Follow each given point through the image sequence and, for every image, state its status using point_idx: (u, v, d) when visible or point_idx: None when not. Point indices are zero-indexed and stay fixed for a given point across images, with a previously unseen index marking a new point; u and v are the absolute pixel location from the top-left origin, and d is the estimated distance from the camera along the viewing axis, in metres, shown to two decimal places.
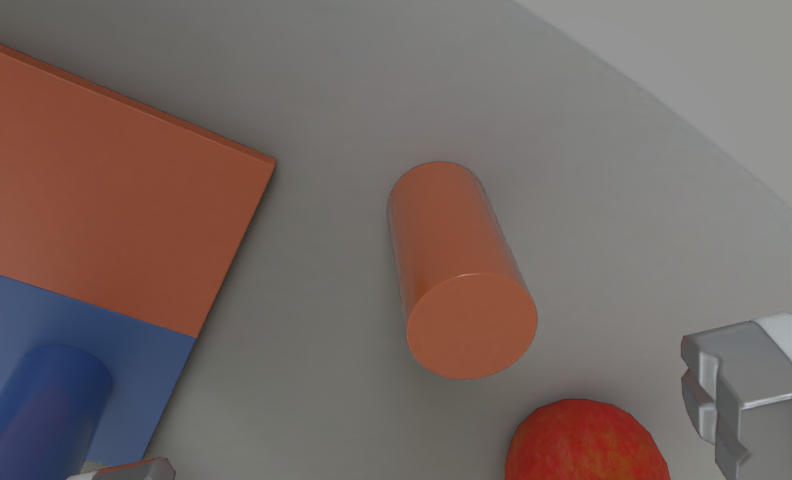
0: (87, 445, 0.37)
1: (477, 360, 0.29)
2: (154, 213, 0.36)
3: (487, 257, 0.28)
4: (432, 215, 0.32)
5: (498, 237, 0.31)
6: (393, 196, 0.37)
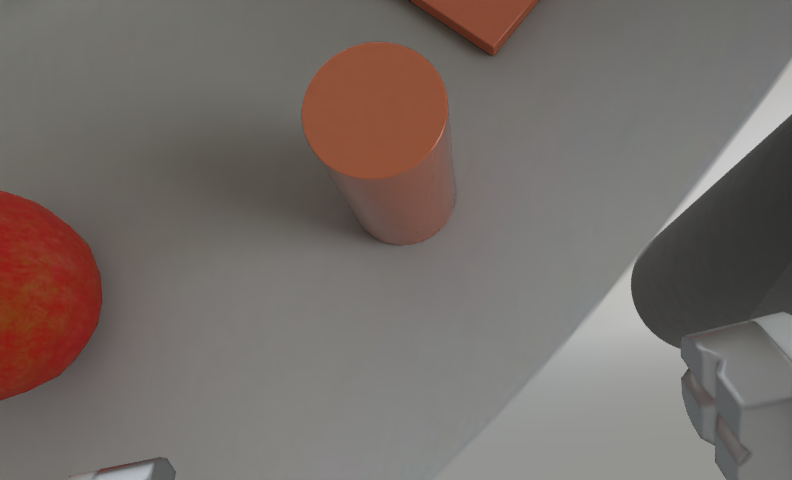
0: None
1: (328, 109, 0.26)
2: None
3: (441, 150, 0.26)
4: None
5: (426, 192, 0.29)
6: None
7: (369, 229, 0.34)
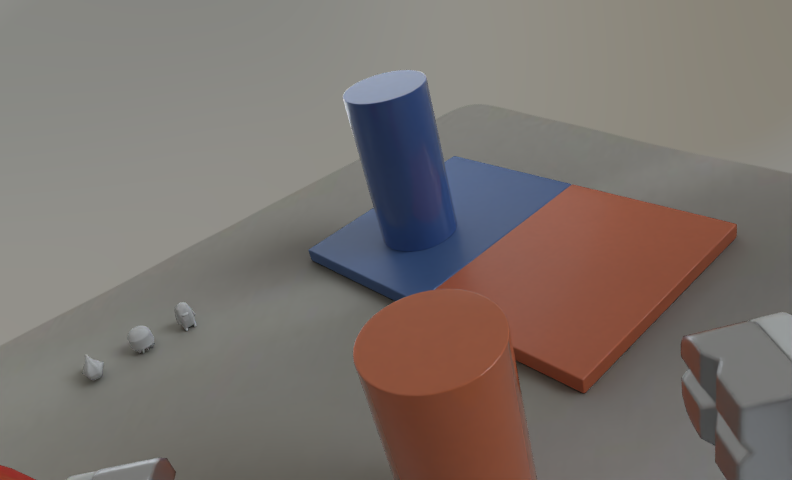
0: (386, 189, 0.45)
1: (382, 339, 0.24)
2: (555, 297, 0.40)
3: (505, 386, 0.23)
4: None
5: (493, 459, 0.24)
6: None
7: None
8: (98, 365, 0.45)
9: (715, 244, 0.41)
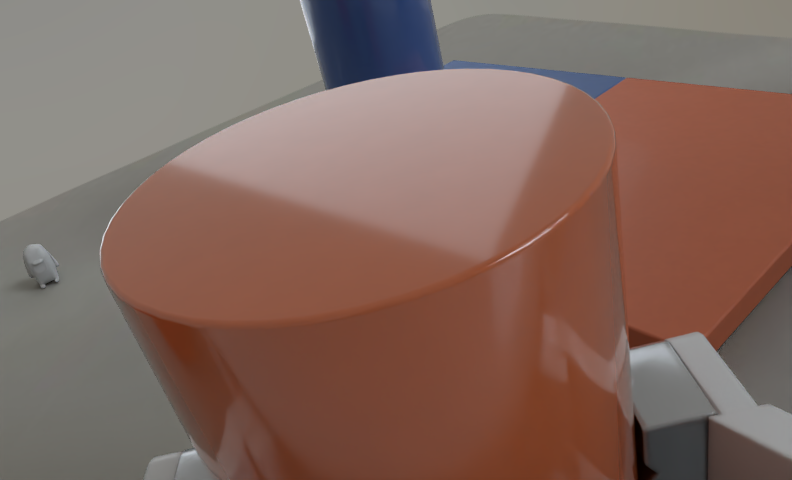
0: (345, 65, 0.29)
1: (209, 179, 0.08)
2: None
3: (602, 312, 0.06)
4: None
5: None
6: None
7: None
8: None
9: None
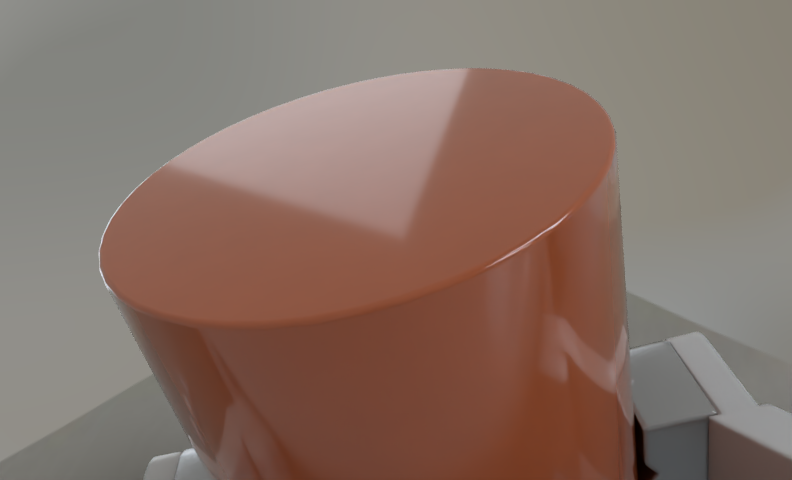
0: None
1: (208, 179, 0.08)
2: None
3: (603, 312, 0.06)
4: None
5: None
6: None
7: None
8: None
9: None
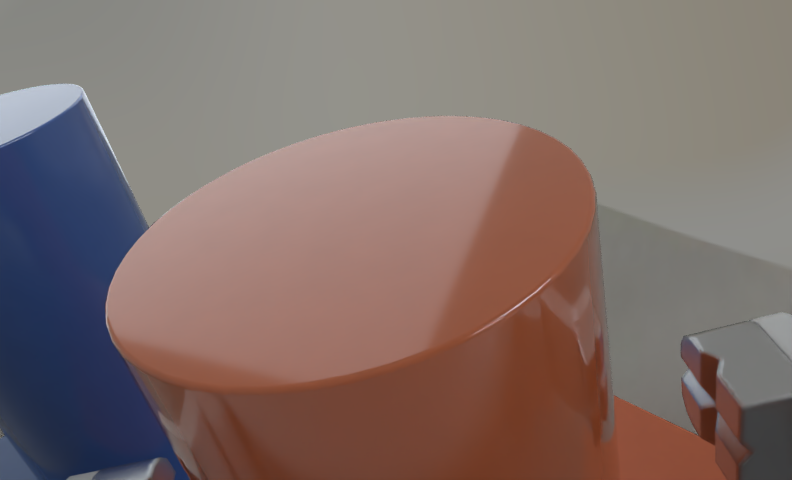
0: None
1: (209, 230, 0.08)
2: None
3: (584, 365, 0.07)
4: None
5: None
6: None
7: None
8: None
9: None
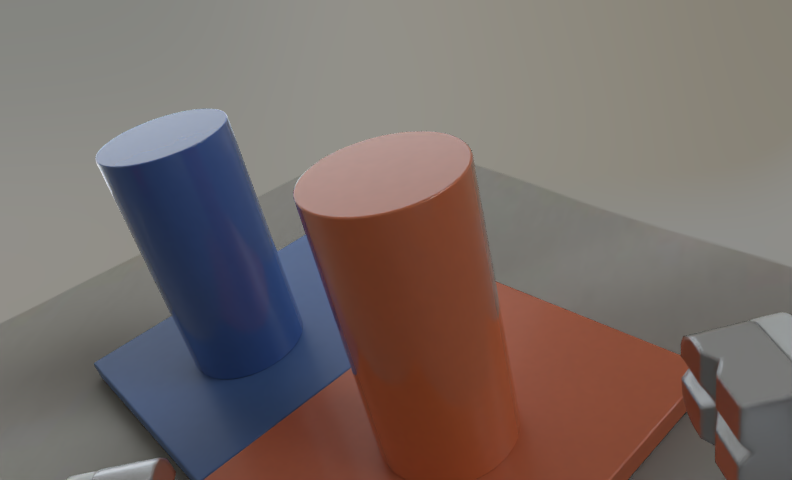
0: (172, 293, 0.29)
1: (327, 176, 0.21)
2: None
3: (466, 220, 0.20)
4: None
5: (454, 310, 0.20)
6: None
7: (389, 443, 0.24)
8: None
9: (672, 406, 0.25)
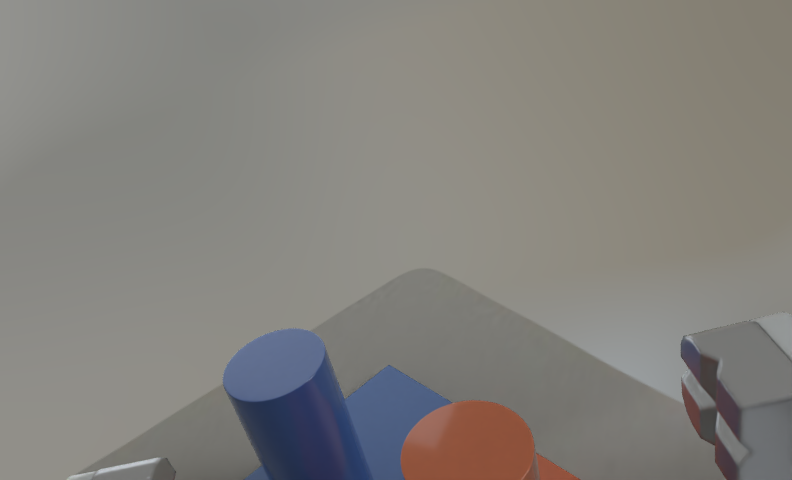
0: None
1: (424, 450, 0.28)
2: None
3: None
4: None
5: None
6: None
7: None
8: None
9: None
